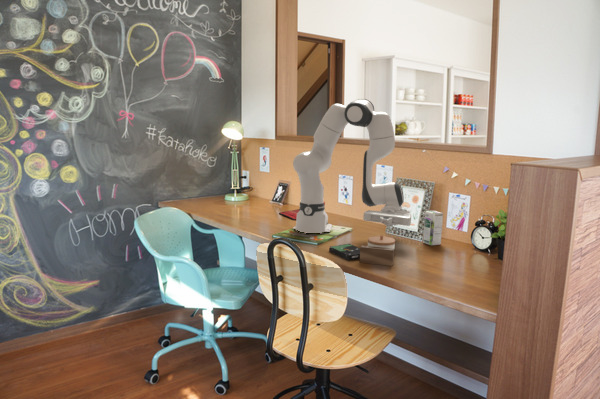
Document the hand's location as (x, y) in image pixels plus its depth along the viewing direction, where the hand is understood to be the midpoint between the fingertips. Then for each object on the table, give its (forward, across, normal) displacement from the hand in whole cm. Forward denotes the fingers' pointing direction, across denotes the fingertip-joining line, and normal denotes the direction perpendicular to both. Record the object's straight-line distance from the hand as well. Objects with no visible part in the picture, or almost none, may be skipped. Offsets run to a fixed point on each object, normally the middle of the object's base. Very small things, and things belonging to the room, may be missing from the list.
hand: (384, 221), depth 194 cm
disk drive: (+12, -12, +13) cm, 21 cm away
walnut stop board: (+20, +1, +12) cm, 23 cm away
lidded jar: (+13, +1, +12) cm, 18 cm away
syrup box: (-19, +19, +12) cm, 29 cm away
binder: (-53, -56, +15) cm, 78 cm away
